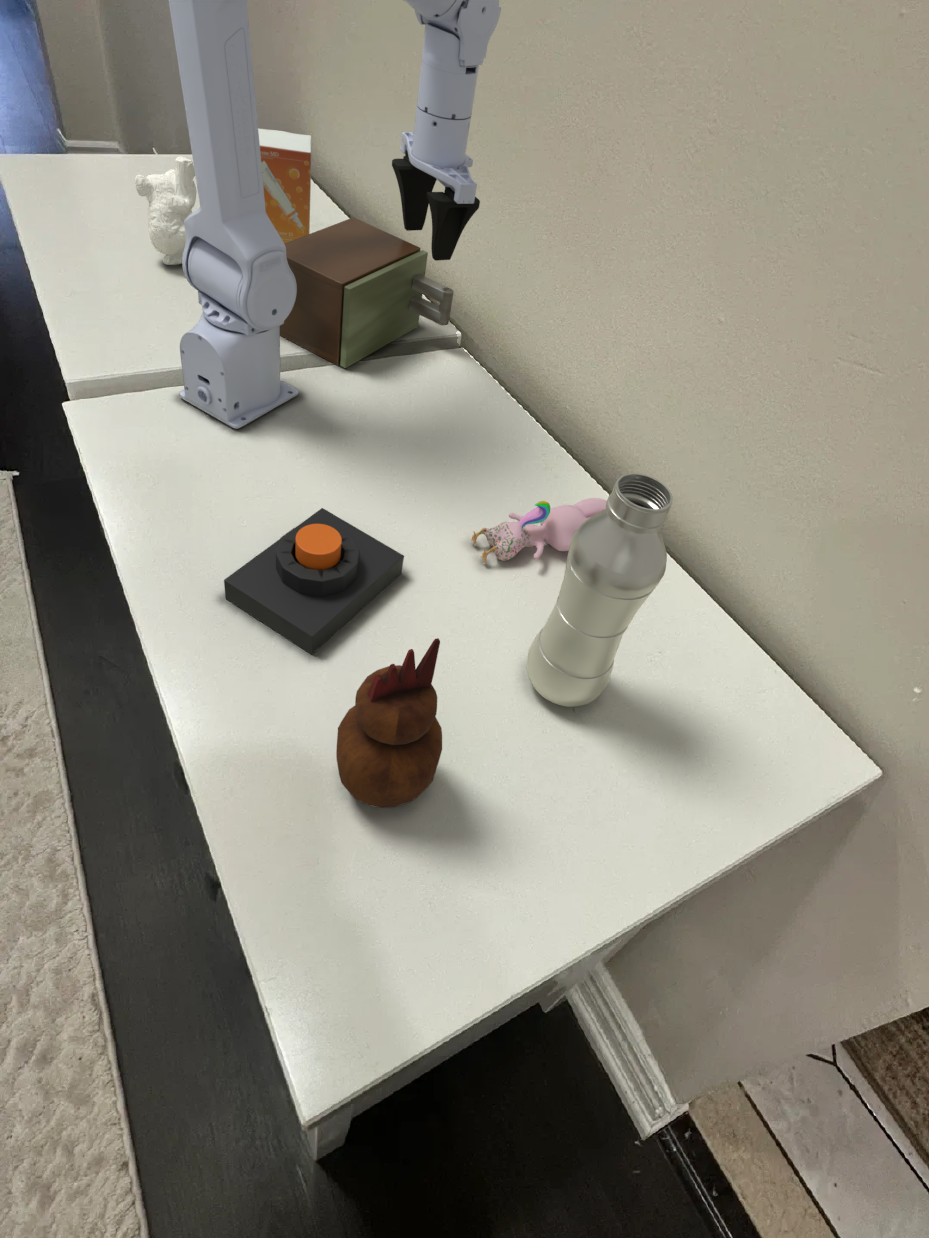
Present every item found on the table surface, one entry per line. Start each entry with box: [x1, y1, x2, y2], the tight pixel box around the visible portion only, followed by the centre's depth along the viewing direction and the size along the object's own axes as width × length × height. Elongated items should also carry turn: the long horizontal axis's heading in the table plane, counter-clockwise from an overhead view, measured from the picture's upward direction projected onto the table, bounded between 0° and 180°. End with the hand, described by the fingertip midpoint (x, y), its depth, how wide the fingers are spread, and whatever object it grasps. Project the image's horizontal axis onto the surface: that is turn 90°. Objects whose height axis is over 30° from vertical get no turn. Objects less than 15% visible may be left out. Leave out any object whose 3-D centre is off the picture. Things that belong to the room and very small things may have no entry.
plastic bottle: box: [526, 472, 674, 708], centre depth 55 cm, size 6×7×20 cm
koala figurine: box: [134, 156, 198, 266], centre depth 93 cm, size 8×7×12 cm
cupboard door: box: [339, 249, 455, 369], centre depth 88 cm, size 6×15×9 cm, turn 147°
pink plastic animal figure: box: [471, 497, 607, 565], centre depth 71 cm, size 6×6×15 cm
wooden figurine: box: [335, 637, 443, 809], centre depth 48 cm, size 7×6×15 cm
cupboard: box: [280, 216, 422, 367], centre depth 90 cm, size 10×15×10 cm
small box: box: [258, 127, 313, 243], centre depth 101 cm, size 8×6×13 cm
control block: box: [223, 507, 405, 655], centre depth 63 cm, size 12×9×4 cm
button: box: [295, 524, 342, 570], centre depth 61 cm, size 4×4×2 cm
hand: (426, 243), depth 89 cm, fingers open, 7 cm apart
